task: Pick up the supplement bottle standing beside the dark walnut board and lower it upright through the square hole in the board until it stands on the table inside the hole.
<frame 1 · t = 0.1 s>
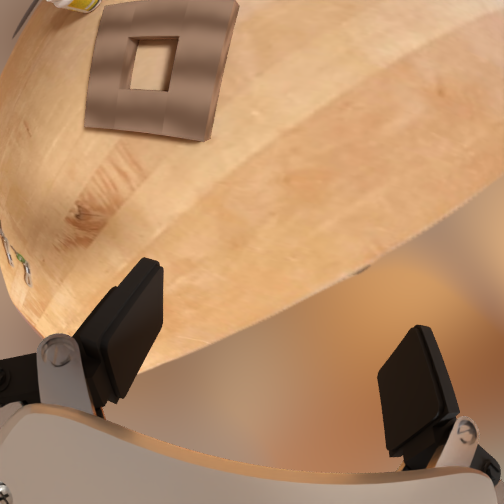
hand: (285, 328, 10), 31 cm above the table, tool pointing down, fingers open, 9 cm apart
supplement bottle: (92, 0, 26), on the table
walnut board: (157, 64, 32), on the table
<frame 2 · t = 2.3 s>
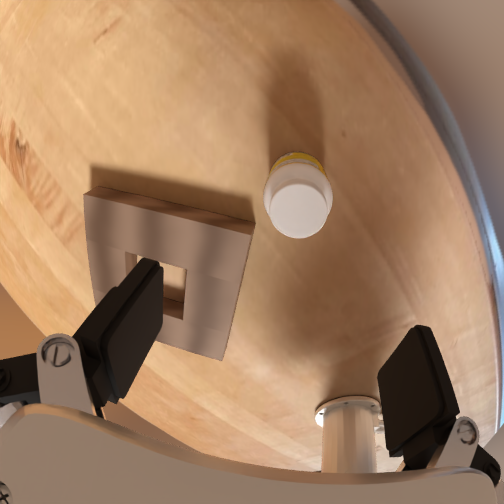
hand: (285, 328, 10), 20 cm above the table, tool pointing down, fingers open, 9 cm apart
supplement bottle: (298, 176, 28), on the table
walnut board: (163, 274, 36), on the table
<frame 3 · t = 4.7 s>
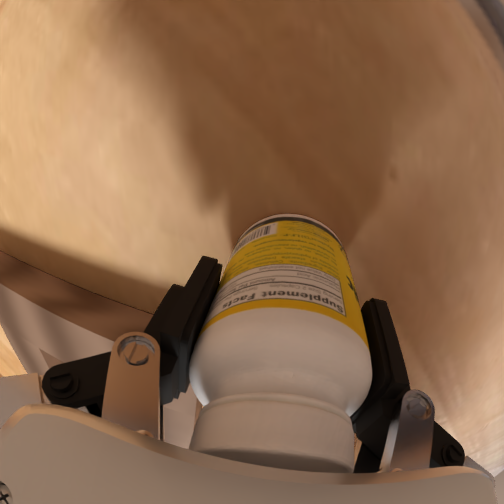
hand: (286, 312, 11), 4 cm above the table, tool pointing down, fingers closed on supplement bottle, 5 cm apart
supplement bottle: (290, 261, 14), on the table, touching gripper
walnut board: (100, 369, 22), on the table
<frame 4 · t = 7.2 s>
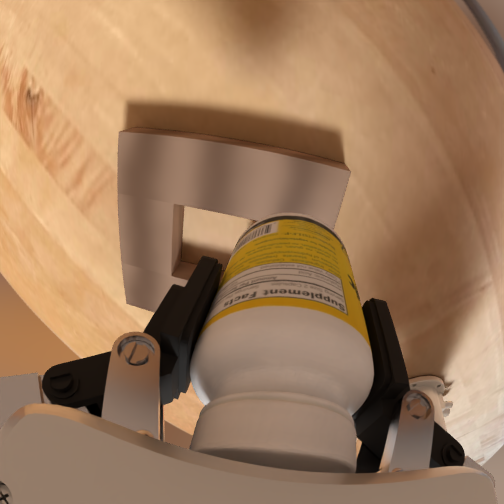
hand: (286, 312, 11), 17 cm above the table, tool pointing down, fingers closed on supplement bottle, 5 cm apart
supplement bottle: (291, 260, 14), point 13 cm above the table, touching gripper
walnut board: (219, 237, 29), on the table
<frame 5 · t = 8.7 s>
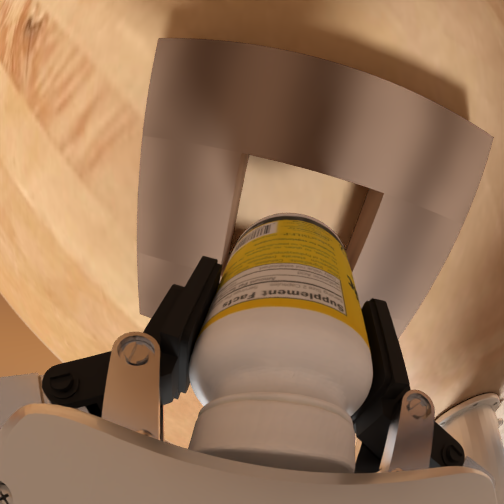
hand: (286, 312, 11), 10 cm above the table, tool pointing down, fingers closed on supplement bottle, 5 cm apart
supplement bottle: (290, 260, 14), point 6 cm above the table, touching gripper
walnut board: (297, 217, 19), on the table
when the fingers open (5 cm above the table, at t = 9.9 s): supplement bottle drops 2 cm, resting in walnut board.
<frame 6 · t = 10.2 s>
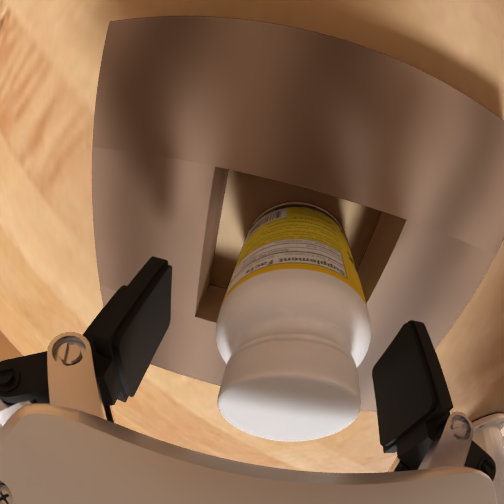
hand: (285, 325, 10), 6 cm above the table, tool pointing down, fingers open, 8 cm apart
supplement bottle: (297, 244, 15), resting in walnut board
walnut board: (291, 244, 15), on the table
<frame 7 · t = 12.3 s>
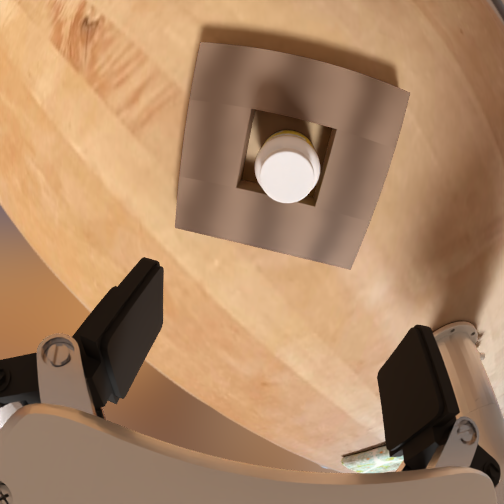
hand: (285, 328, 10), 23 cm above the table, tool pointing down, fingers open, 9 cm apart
supplement bottle: (288, 153, 29), resting in walnut board
towel: (380, 453, 65), on the table
walnut board: (285, 152, 28), on the table
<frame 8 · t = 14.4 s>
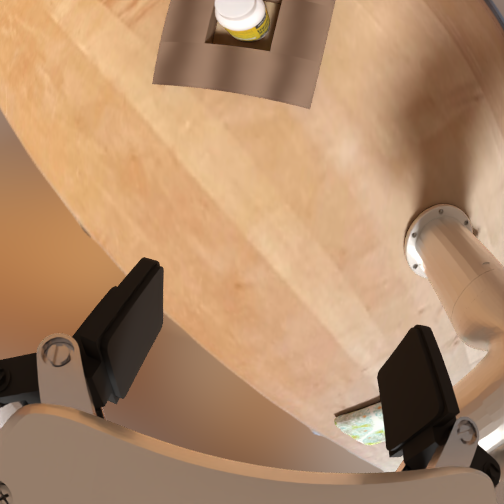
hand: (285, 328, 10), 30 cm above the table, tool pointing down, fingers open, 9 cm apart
supplement bottle: (249, 25, 28), resting in walnut board
towel: (378, 416, 64), on the table
walnut board: (247, 24, 28), on the table
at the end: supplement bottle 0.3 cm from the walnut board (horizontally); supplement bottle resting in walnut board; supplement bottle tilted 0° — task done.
